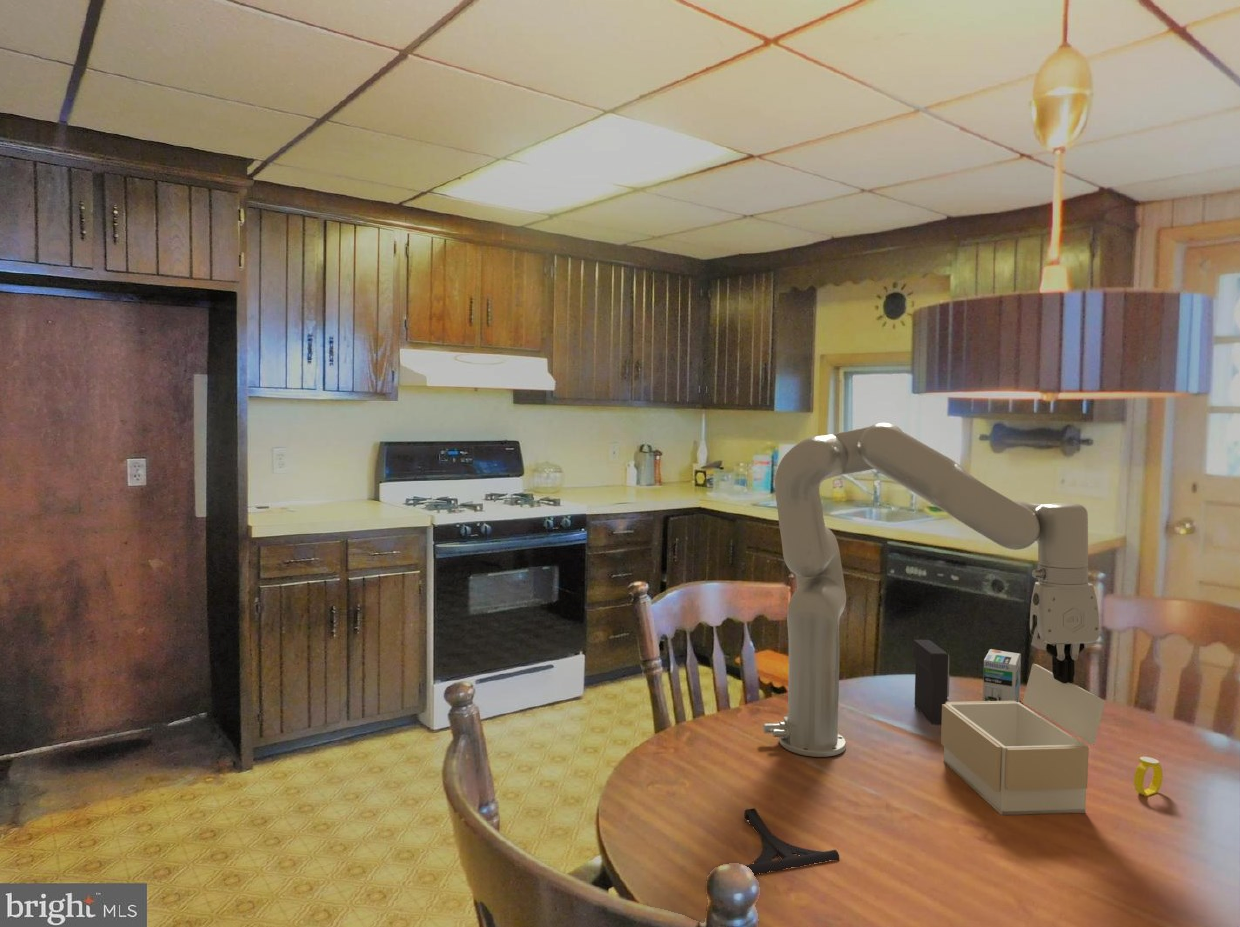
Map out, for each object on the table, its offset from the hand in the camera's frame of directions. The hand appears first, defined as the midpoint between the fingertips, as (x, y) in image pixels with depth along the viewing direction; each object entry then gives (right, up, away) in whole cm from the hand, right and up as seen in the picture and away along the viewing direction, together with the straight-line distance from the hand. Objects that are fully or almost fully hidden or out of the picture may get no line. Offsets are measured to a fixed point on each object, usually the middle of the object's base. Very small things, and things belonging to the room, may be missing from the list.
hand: (1063, 680), depth 139 cm
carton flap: (-1, -4, 0) cm, 4 cm away
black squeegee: (-54, -20, -18) cm, 60 cm away
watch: (+13, -19, -2) cm, 23 cm away
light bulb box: (+9, -16, +41) cm, 45 cm away
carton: (-9, -18, +1) cm, 20 cm away
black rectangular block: (-10, -17, +33) cm, 39 cm away
